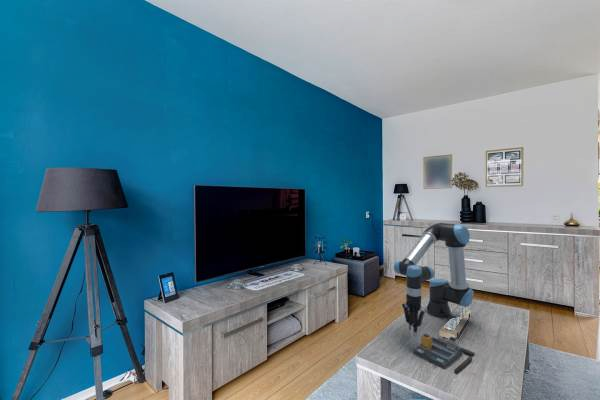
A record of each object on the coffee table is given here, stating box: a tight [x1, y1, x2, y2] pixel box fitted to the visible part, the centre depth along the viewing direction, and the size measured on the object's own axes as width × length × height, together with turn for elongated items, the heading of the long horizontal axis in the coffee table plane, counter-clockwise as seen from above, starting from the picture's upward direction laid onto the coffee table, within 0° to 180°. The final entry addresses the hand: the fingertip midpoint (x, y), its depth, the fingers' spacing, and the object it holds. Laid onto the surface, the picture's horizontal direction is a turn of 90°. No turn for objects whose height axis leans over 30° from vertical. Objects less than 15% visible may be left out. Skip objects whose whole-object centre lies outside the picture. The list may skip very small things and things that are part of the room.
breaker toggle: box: [420, 333, 432, 349], centre depth 147 cm, size 4×4×7 cm
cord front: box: [437, 337, 475, 358], centre depth 151 cm, size 3×21×2 cm, turn 37°
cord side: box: [453, 356, 473, 374], centre depth 134 cm, size 17×2×2 cm, turn 127°
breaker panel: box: [413, 335, 463, 370], centre depth 144 cm, size 19×16×9 cm
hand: (413, 336), depth 153 cm, fingers closed
